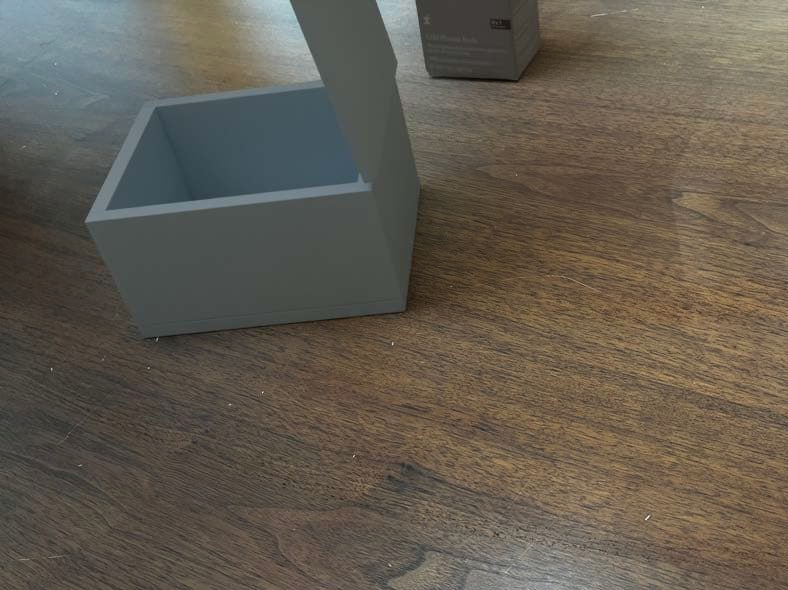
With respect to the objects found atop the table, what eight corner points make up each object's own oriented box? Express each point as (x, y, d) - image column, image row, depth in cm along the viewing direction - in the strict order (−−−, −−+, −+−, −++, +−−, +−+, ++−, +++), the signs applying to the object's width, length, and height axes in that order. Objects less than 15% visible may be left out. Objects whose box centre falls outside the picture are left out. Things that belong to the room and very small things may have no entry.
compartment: (142, 338, 69) (84, 222, 63) (191, 212, 79) (144, 100, 73) (405, 311, 68) (372, 189, 61) (421, 186, 78) (393, 70, 71)
